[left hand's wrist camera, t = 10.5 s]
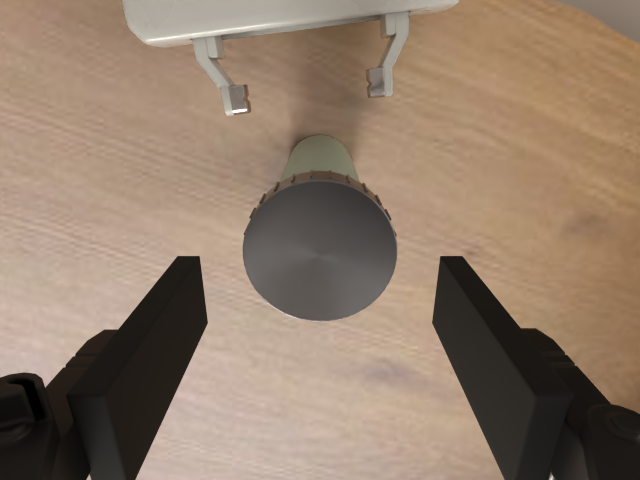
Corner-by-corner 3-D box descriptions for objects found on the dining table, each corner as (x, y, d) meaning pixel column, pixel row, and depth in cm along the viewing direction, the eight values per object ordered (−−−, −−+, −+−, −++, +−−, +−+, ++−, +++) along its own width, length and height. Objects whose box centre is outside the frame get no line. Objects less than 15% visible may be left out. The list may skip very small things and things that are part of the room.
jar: (356, 139, 33) (394, 200, 17) (346, 201, 35) (370, 312, 19) (291, 130, 33) (262, 183, 16) (285, 193, 35) (252, 298, 18)
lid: (405, 179, 18) (414, 190, 16) (377, 310, 20) (382, 330, 18) (253, 159, 17) (246, 167, 16) (243, 294, 20) (236, 314, 18)
